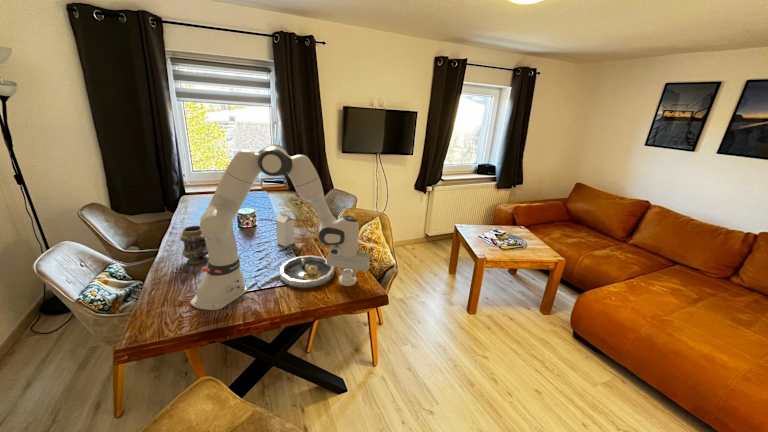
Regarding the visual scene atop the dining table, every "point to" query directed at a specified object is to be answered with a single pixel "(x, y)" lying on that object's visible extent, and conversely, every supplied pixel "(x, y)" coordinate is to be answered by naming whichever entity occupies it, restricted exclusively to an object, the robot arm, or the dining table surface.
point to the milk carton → (285, 230)
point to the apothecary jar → (194, 246)
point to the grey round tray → (306, 272)
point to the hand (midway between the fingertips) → (347, 275)
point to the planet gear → (347, 278)
